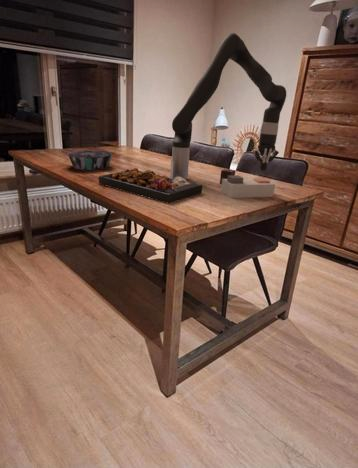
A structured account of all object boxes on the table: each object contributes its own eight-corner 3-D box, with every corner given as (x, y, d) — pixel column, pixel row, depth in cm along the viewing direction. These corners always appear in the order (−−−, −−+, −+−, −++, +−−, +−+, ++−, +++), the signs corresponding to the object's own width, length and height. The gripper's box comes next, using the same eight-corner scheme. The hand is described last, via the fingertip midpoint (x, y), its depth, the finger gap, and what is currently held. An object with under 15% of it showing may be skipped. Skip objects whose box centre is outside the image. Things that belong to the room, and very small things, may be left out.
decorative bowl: (121, 170, 202) (122, 154, 199) (88, 173, 179) (88, 155, 176) (92, 164, 214) (92, 149, 211) (57, 166, 192) (57, 149, 189)
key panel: (230, 197, 150) (232, 185, 147) (221, 190, 160) (222, 178, 158) (273, 196, 155) (275, 184, 153) (261, 190, 166) (262, 178, 164)
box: (229, 185, 171) (231, 172, 168) (219, 183, 174) (220, 170, 171) (234, 183, 176) (235, 170, 173) (224, 181, 179) (225, 168, 176)
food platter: (201, 194, 155) (203, 172, 151) (169, 204, 137) (170, 180, 133) (134, 177, 180) (134, 158, 176) (99, 184, 162) (98, 164, 158)
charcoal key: (231, 186, 151) (232, 178, 149) (226, 183, 156) (227, 175, 154) (242, 186, 152) (243, 178, 151) (237, 183, 157) (238, 175, 156)
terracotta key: (258, 189, 155) (259, 181, 154) (252, 186, 160) (253, 178, 159) (268, 189, 157) (269, 181, 155) (262, 186, 162) (264, 178, 160)
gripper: (259, 133, 143) (253, 172, 150) (286, 134, 147) (279, 172, 153) (252, 131, 150) (246, 168, 157) (277, 132, 153) (271, 169, 160)
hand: (262, 170), depth 155 cm, fingers closed
